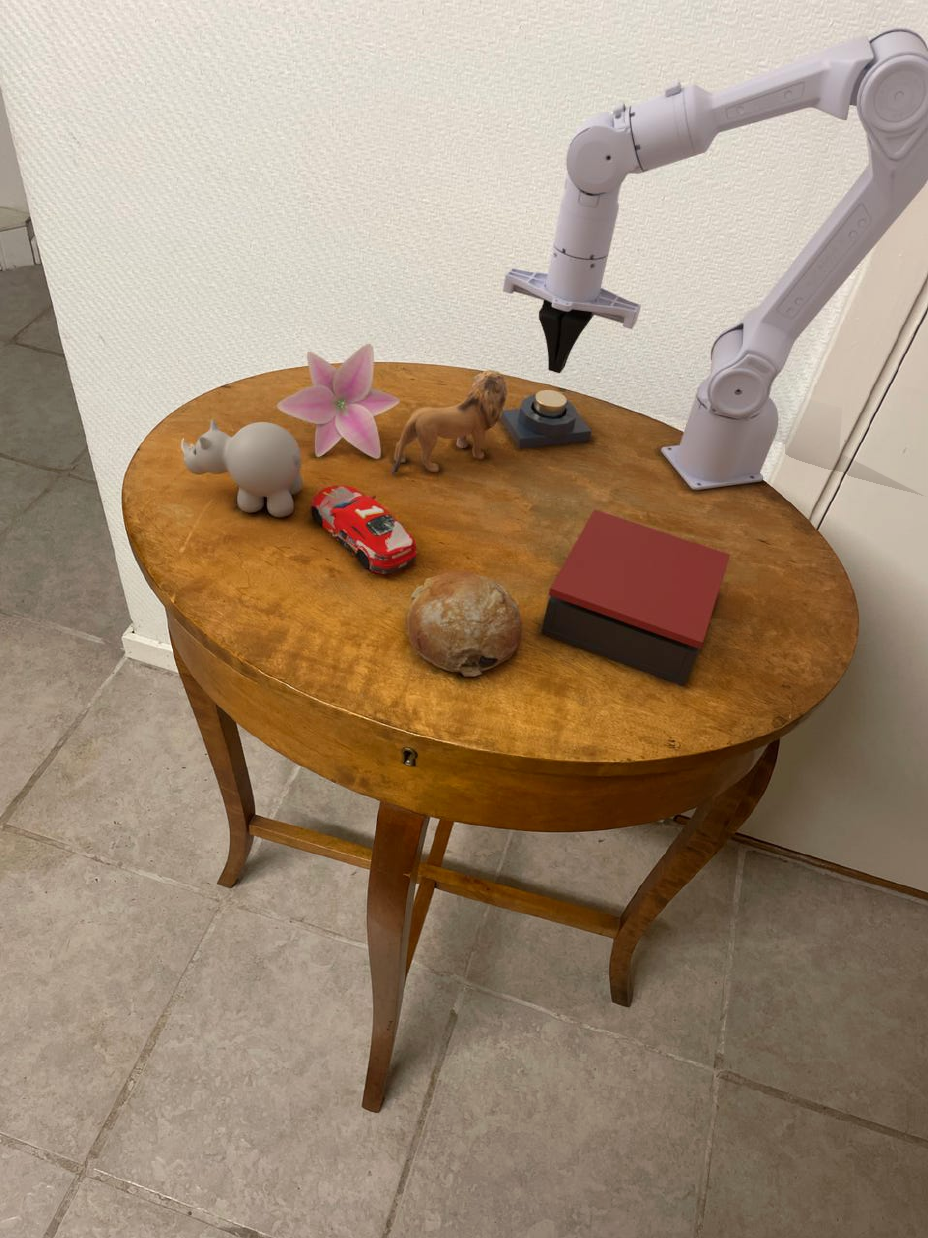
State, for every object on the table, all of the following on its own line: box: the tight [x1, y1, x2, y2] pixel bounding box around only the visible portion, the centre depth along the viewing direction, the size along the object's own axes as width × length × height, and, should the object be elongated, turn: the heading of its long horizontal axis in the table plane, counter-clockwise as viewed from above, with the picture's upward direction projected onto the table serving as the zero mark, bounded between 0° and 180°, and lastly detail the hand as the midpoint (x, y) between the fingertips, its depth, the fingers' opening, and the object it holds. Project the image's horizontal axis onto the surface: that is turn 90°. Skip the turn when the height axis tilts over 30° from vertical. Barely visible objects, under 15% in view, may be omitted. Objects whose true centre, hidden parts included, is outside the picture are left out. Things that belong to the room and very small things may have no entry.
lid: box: [548, 509, 731, 650], centre depth 83 cm, size 14×14×1 cm
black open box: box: [540, 595, 700, 687], centre depth 85 cm, size 14×14×4 cm
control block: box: [500, 393, 592, 449], centre depth 107 cm, size 9×6×3 cm
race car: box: [310, 484, 418, 575], centre depth 89 cm, size 13×5×4 cm, turn 39°
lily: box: [276, 343, 401, 460], centre depth 100 cm, size 12×12×10 cm
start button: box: [533, 389, 568, 419], centre depth 105 cm, size 4×4×2 cm
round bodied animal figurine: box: [180, 419, 303, 518], centre depth 90 cm, size 7×12×8 cm, turn 80°
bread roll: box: [406, 570, 523, 678], centre depth 81 cm, size 10×10×8 cm
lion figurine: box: [390, 369, 508, 474], centre depth 99 cm, size 15×5×9 cm, turn 130°
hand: (556, 368), depth 102 cm, fingers closed
